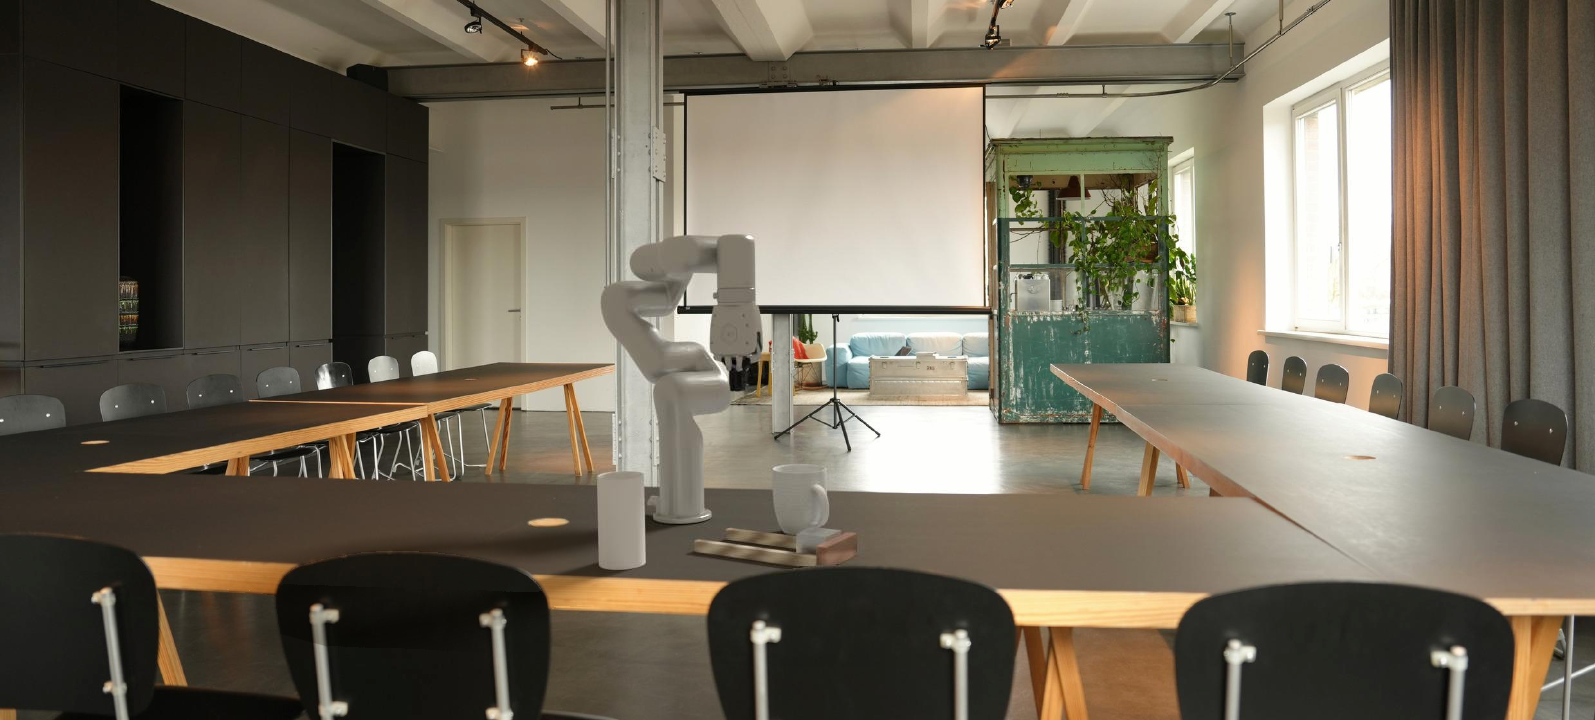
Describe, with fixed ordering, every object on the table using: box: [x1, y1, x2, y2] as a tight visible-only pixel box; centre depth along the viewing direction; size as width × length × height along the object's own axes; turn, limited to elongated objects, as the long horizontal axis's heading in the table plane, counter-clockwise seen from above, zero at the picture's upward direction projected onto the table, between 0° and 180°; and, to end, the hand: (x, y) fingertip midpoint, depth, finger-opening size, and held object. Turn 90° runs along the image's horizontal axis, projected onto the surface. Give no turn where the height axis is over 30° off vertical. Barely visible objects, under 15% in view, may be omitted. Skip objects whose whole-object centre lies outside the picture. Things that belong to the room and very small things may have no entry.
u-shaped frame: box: [693, 527, 858, 568], centre depth 177 cm, size 28×12×4 cm, turn 60°
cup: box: [596, 470, 647, 571], centre depth 171 cm, size 8×8×16 cm
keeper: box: [795, 527, 842, 555], centre depth 173 cm, size 6×6×5 cm
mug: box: [771, 463, 830, 536], centre depth 192 cm, size 15×11×13 cm
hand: (737, 390), depth 189 cm, fingers closed
